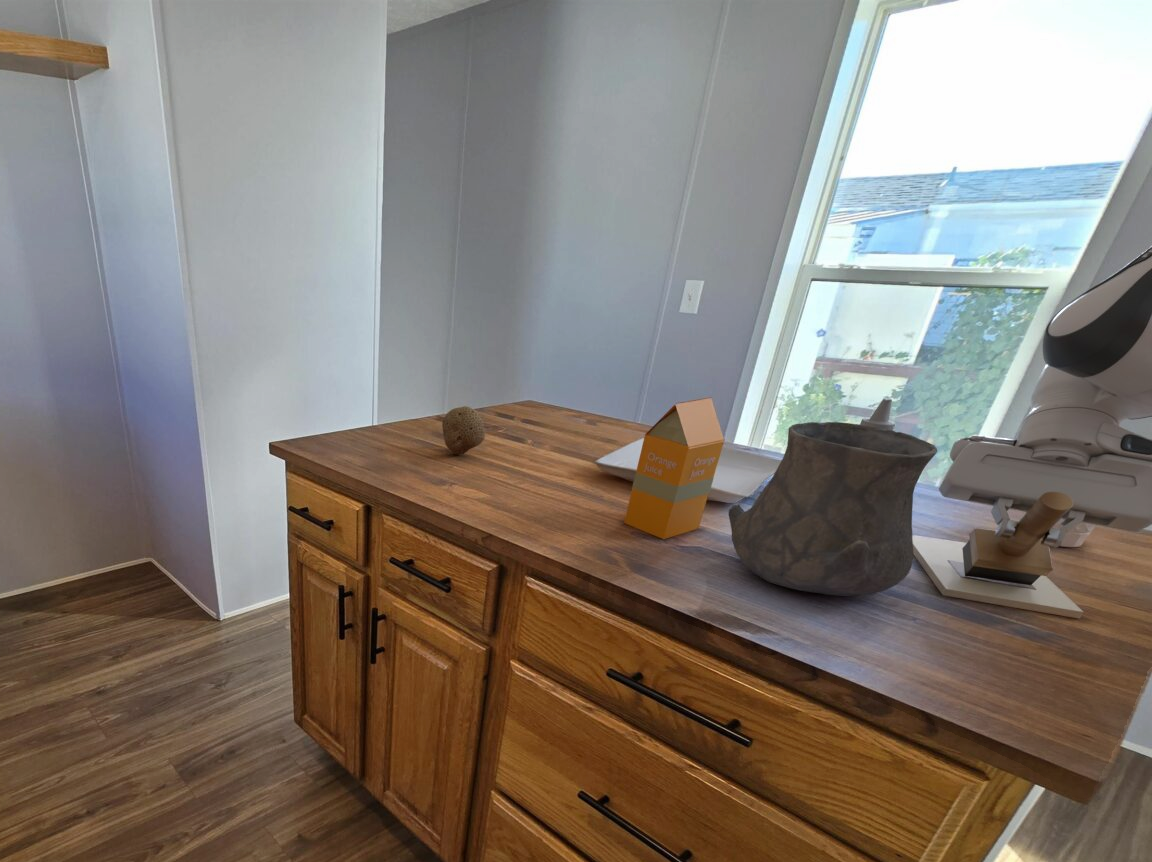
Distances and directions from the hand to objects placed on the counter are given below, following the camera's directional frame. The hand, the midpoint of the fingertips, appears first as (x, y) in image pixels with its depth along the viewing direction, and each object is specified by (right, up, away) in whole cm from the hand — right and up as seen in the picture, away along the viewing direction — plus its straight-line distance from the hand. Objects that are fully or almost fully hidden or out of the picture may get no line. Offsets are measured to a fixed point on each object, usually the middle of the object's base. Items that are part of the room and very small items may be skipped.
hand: (1027, 539), depth 83 cm
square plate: (-20, +16, +44) cm, 51 cm away
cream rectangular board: (+3, -4, +9) cm, 11 cm away
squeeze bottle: (+3, +10, +34) cm, 36 cm away
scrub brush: (+2, -3, +7) cm, 8 cm away
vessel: (-23, -4, +8) cm, 25 cm away
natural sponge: (-62, +23, +56) cm, 87 cm away
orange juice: (-35, +4, +23) cm, 43 cm away
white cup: (+26, +2, +21) cm, 33 cm away
